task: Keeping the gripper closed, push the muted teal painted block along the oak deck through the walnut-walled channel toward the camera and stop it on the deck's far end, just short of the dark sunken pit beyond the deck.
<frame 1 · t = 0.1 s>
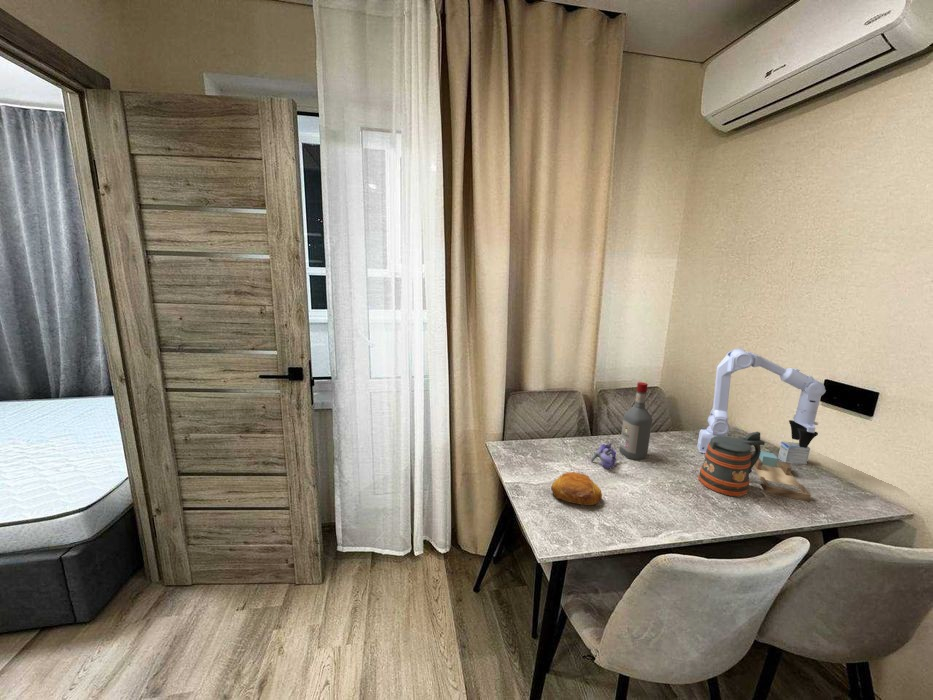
hand: (799, 443, 149), 10 cm above the table, fingers open, 7 cm apart
deck: (771, 474, 144), on the table
bread loaf: (575, 495, 126), on the table
liquor: (632, 455, 156), on the table
flower: (603, 465, 146), on the table
beer stein: (727, 485, 136), on the table
medicine box: (790, 465, 153), on the table
block: (766, 463, 150), point 1 cm above the table, touching deck
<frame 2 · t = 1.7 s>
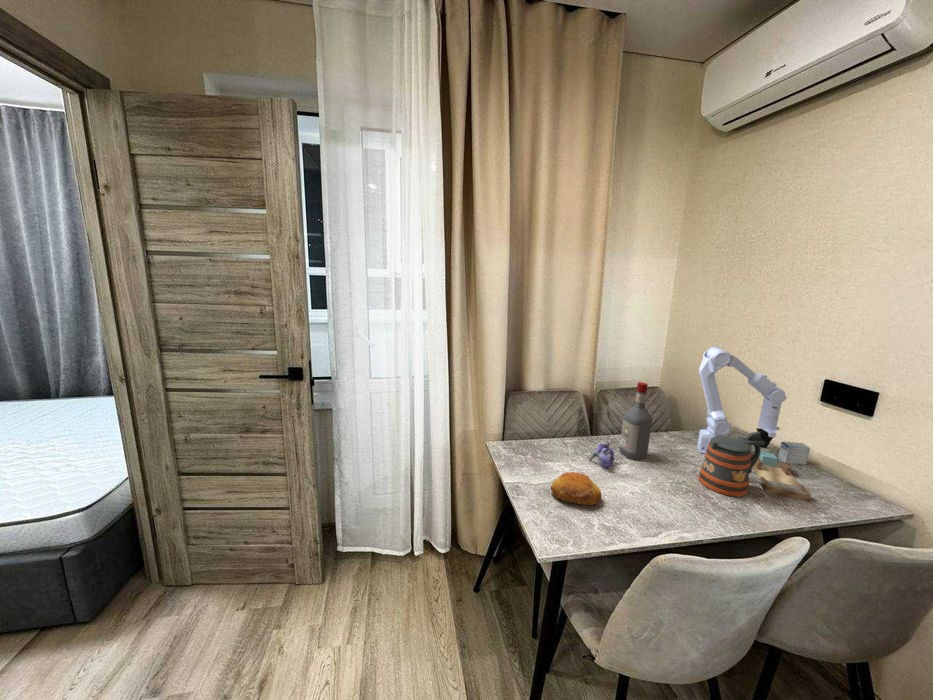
hand: (762, 447, 156), 5 cm above the table, fingers closed
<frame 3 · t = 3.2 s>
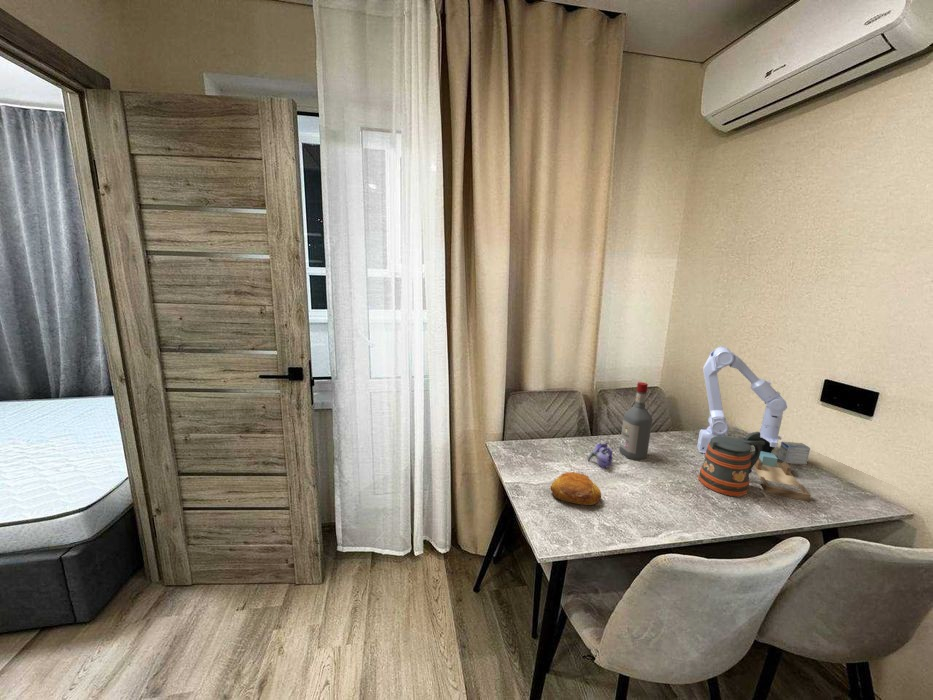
hand: (764, 456, 153), 2 cm above the table, fingers closed
block: (766, 463, 150), point 1 cm above the table, touching deck, gripper
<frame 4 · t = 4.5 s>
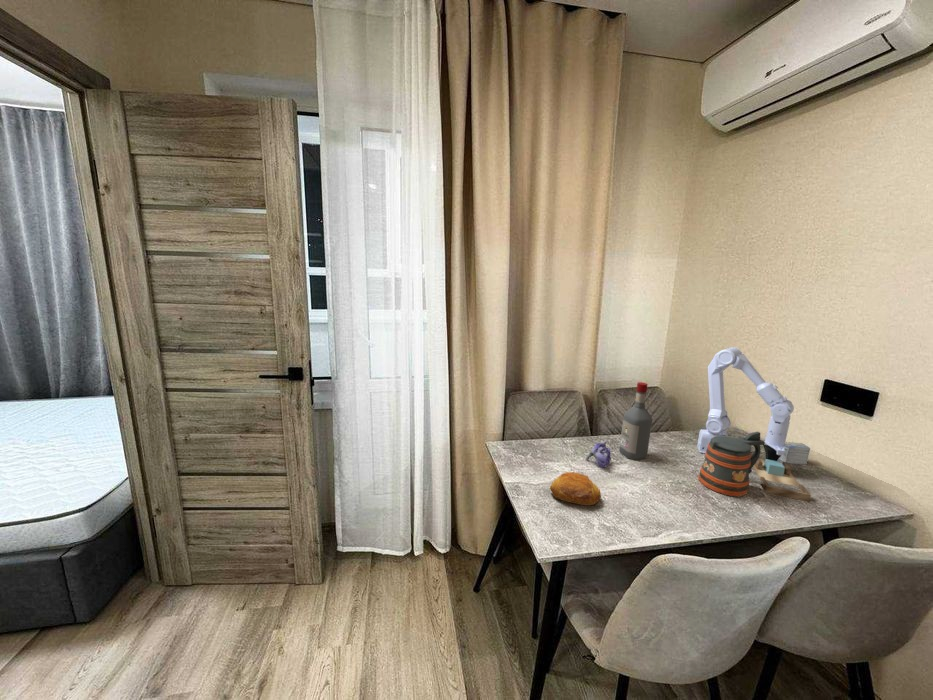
hand: (770, 465, 147), 2 cm above the table, fingers closed
block: (773, 471, 143), point 1 cm above the table, touching deck, gripper
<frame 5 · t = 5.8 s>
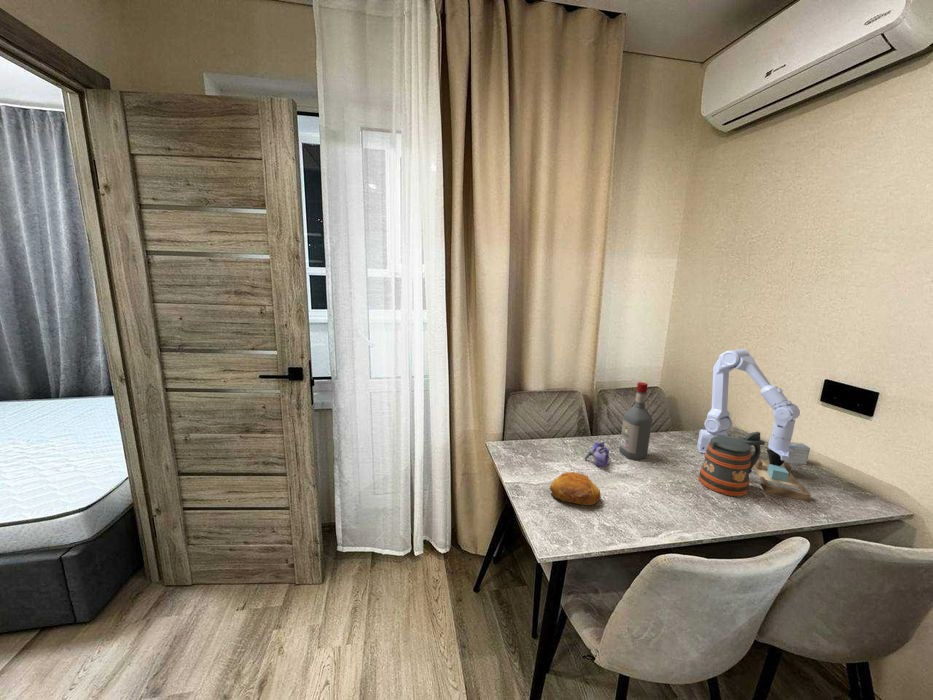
hand: (773, 470, 143), 2 cm above the table, fingers closed
block: (776, 477, 139), point 2 cm above the table, touching deck, gripper
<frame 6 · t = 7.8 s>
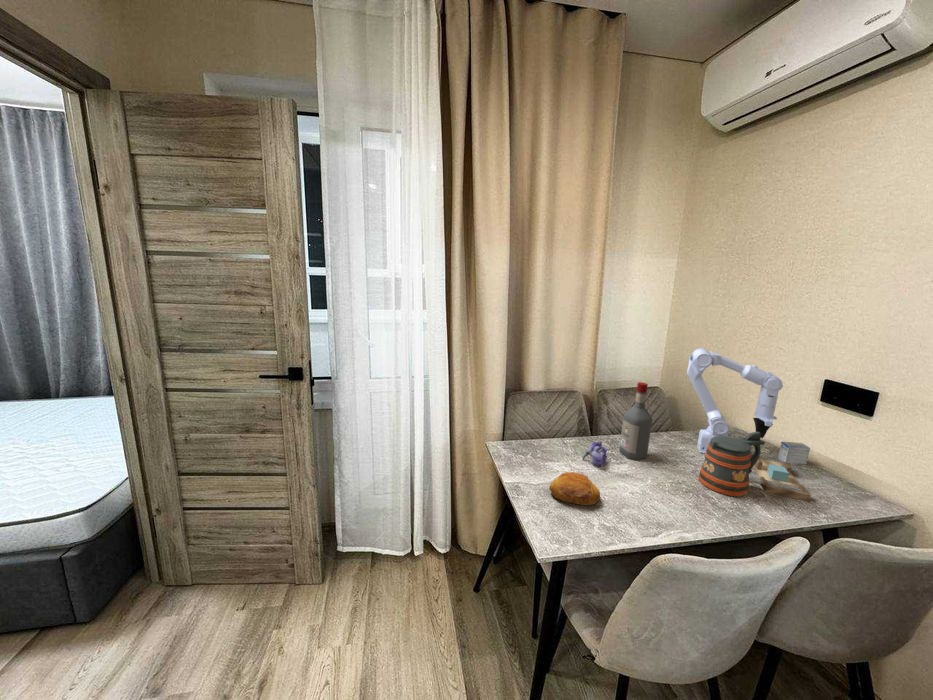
hand: (759, 437, 154), 10 cm above the table, fingers closed
block: (776, 477, 139), point 1 cm above the table, touching deck
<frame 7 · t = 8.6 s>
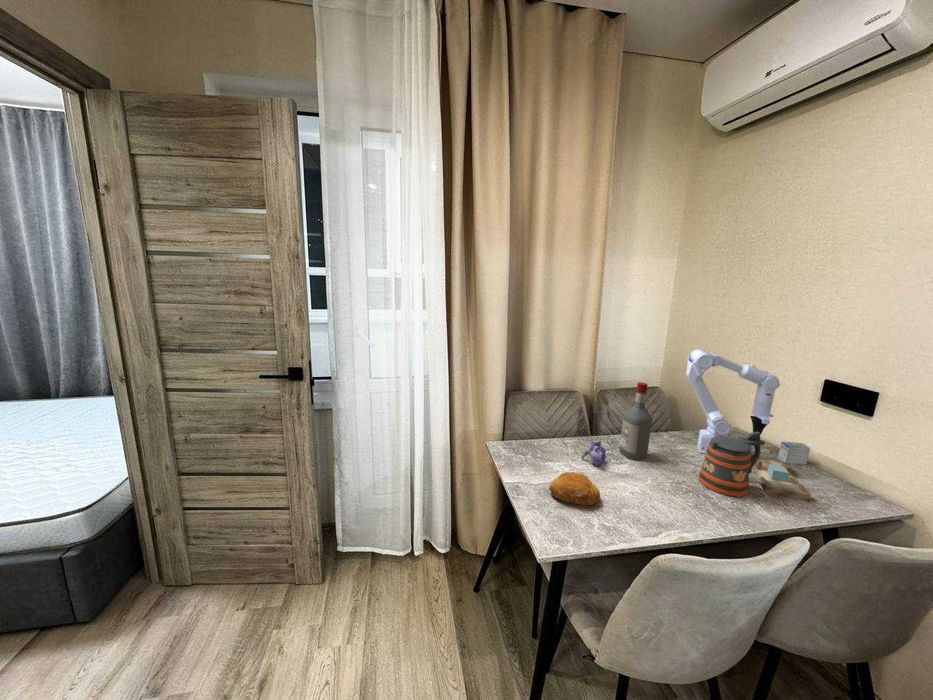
hand: (756, 434, 156), 10 cm above the table, fingers closed
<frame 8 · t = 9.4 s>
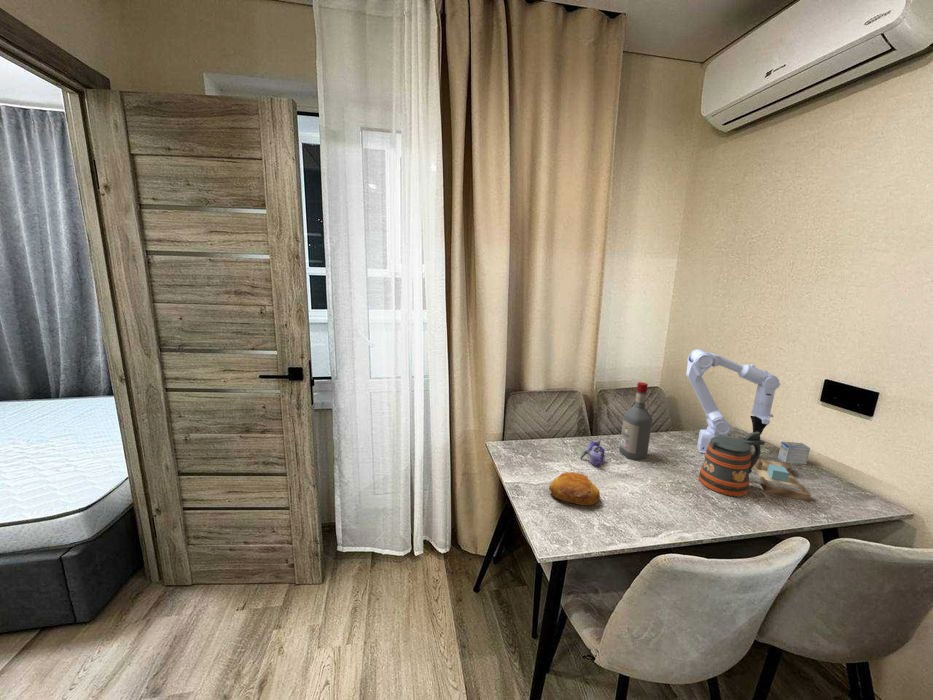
hand: (756, 434, 156), 10 cm above the table, fingers closed
at the end: block 0.3 cm from the target spot, point 1.5 cm above the table; block tilted 0° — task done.
